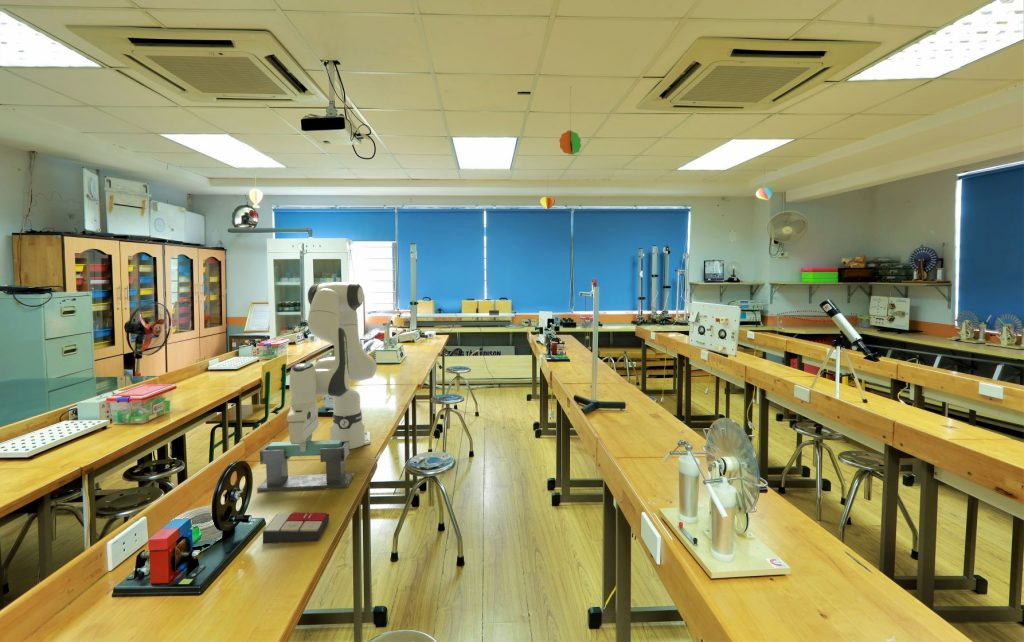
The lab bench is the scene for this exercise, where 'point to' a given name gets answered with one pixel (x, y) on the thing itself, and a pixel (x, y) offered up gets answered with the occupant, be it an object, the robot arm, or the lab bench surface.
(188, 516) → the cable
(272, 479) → the bracket stand
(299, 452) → the rail
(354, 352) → the robot arm
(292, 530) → the large key keypad
